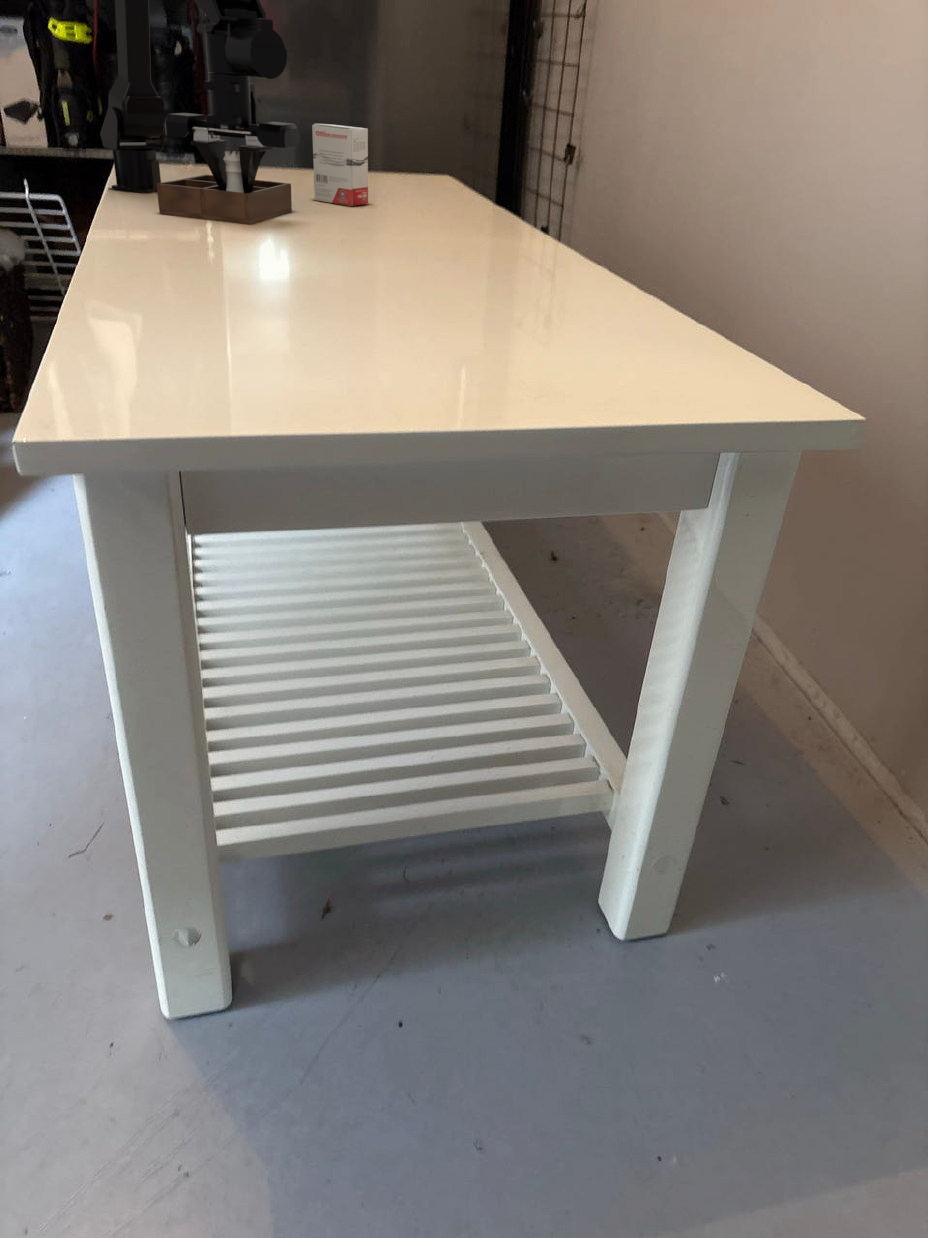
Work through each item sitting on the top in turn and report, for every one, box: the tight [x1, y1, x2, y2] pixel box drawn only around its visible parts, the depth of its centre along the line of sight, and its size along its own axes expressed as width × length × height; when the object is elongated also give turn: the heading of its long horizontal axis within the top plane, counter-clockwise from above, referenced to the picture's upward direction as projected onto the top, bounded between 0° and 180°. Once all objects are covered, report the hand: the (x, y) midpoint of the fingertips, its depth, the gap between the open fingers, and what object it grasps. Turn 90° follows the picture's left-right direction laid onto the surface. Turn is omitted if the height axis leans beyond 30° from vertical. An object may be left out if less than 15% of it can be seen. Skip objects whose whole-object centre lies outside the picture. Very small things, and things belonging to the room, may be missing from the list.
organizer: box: [156, 174, 293, 225], centre depth 139 cm, size 15×15×4 cm
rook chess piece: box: [223, 150, 244, 193], centre depth 134 cm, size 4×4×8 cm
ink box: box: [311, 123, 369, 207], centre depth 153 cm, size 9×5×12 cm, turn 58°
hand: (236, 195), depth 134 cm, fingers closed on rook chess piece, 3 cm apart
